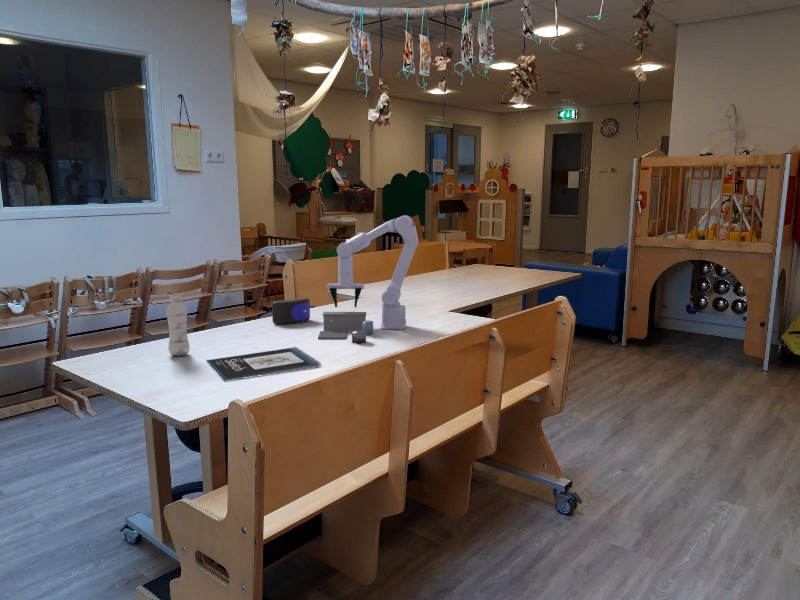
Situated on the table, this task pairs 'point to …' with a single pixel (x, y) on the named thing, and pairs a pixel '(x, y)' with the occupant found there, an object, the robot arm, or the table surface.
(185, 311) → the plastic bottle
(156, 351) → the table surface
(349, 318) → the block
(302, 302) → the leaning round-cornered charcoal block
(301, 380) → the table surface
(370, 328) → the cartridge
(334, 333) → the mat
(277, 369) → the sketchbook
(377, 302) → the table surface
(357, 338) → the cap
